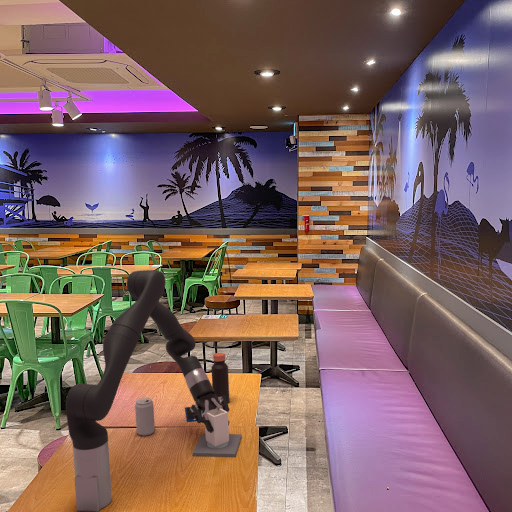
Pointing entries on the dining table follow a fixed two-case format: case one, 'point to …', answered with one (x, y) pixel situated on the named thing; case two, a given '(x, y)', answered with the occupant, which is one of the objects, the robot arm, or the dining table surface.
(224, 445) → the post plate
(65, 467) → the dining table surface
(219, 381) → the bottle
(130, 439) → the dining table surface
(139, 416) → the beverage can
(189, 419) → the cell phone
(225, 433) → the sleeve
